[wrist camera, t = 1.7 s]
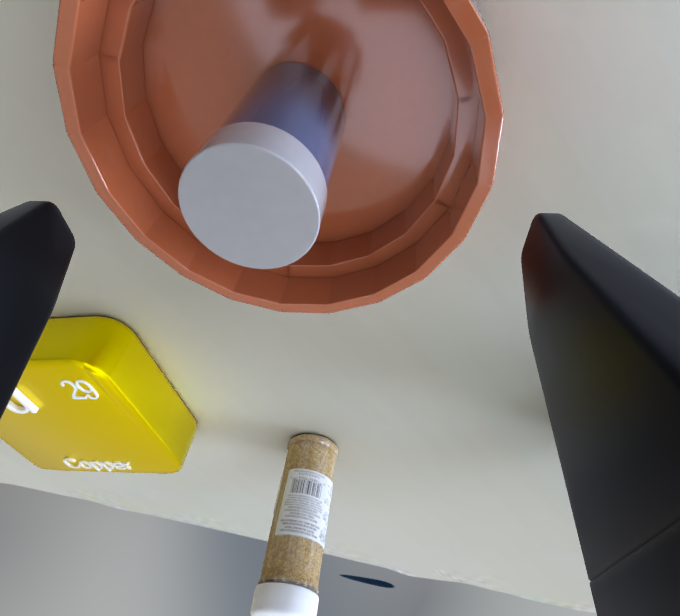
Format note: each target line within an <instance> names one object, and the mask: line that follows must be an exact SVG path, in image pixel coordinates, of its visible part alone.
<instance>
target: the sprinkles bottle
mask: <svg viewBox="0 0 680 616" xmlns="http://www.w3.org/2000/svg"><path fill="white" fill-rule="evenodd" d="M337 455H338V448H337V447H336V445H335V444H334V443H333V442H332V441H330V440H329V439H327V438H325V437H322V436H319V435H312V434H302V435H298V436H295V437H293V438H292V439H291V440H290V441H289V443H288V453H287V457H286V462H285V467H284V471H283V476H282V477H281V481H280V485H279V490H278V494H277V499H276V503H275V508H274V517H273V521H272V526H271V530H270V534H269V540H268V544H267V549H266V554H265V559H264V563H263V568H262V574H261V578H260V579H259V581H258V582H259V583H258V584H259V585H257V586H256V588H255V592H254V597H253V601H252V607H251V616H317V609H318V602H319V598H318V596H317V594H318V593H319V592H318V591H319V590H318V582H319V575H320V567H321V561H322V554H323V551H324V545H325V538H326V531H327V524H328V516H329V509H330V502H331V495H332V488H333V484H332V481H333V475H334V467H335V461H336V457H337Z"/></svg>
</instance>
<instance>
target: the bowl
mask: <svg viewBox="0 0 680 616" xmlns="http://www.w3.org/2000/svg"><path fill="white" fill-rule="evenodd" d="M287 62H295V63H301V64H305V65H308V66H311V67H313V68H315V69H317V70H318V71H320V72H321V73H323V74H324V75H325V76H326V77H327V78H328V79H329V80H330V81H331V82H332V83H333V84H334V86H335V87H336V88H337V90H338V92H339V94H340V96H341V98H342V101H343V104H344V108H345V114H346V123H345V129H344V133H343V137H342V140H341V144H340V147H339V151H338V154H337V158H336V162H335V165H334V169H333V172H332V176H331V179H330V183H329V186H328V190H327V202H326V207H325V211H324V215H323V218H322V222H321V225H320V229H319V233H318V236H317V238H316V240H315V242H314V244H313V246H312V247H311V248H310V250H309V251H308V252H307V253H306V254H305V255H304V256H302V257H301V258H300V259H298V260H297V261H295V262H293V263H291V264H288V265H286V266H282V267H279V268H272V269H255V268H249V267H244V266H241V265H237V264H235V263H232V262H229V261H227V260H225V259H223V258H221V257H220V256H218V255H216V254H215V253H213V252H212V251H211V250H209V249H208V248H207V247H206V246H204V245H203V244H202V243H201V242H200V241H199V240H198V239H197V238H196V236H195V235H194V234H193V233H192V231H191V230H190V228H189V227H188V225H187V223H186V222H185V219H184V217H183V215H182V212H181V209H180V206H179V199H178V185H179V180H180V176H181V173H182V171H183V169H184V167H185V166H186V164H187V163H188V162H189V160H190V159H191V158H192V157H193V155H194V154H195V153H196V151H197V150H198V149H199V148H200V146H201V145H202V144H203V143H204V141H205V140H206V139H207V138H208V137H209V136H210V135H211V134H212V133H214V132H215V131H217V130H218V129H219V127H220V126H221V125H222V123H223V122H224V121H225V119H226V118H227V117H228V116H229V114H230V113H231V112H232V110H233V109H234V108H235V106H236V105H237V104H238V103H239V101H240V100H241V99H242V97H243V96H244V95H245V93H246V92H247V91H248V90H249V88H250V87H251V86H252V84H253V83H254V82H255V80H256V79H257V78H258V77H259V76H260V75H261V74H262V73H263V72H264V71H265V70H267V69H268V68H270V67H272V66H274V65H277V64H281V63H287ZM53 68H54V73H55V78H56V83H57V88H58V93H59V98H60V102H61V107H62V112H63V117H64V122H65V127H66V132H67V133H68V137H69V139H70V141H71V142H72V144H73V146H74V148H75V150H76V152H77V154H78V156H79V158H80V160H81V162H82V164H83V166H84V168H85V170H86V172H87V174H88V176H89V178H90V180H91V182H92V184H93V186H94V188H95V190H96V192H97V194H98V195H99V196H100V197H101V199H102V200H103V201H104V202H105V203H106V205H107V206H108V207H109V208H110V209H111V211H112V212H113V213H114V214H115V215H116V217H117V218H118V219H119V220H120V221H121V222H122V224H123V225H124V226H125V227H126V228H127V230H128V231H129V232H130V233H131V234H132V236H133V237H134V238H135V239H136V240H137V241H138V242H139V243H141V244H142V245H143V246H145V247H146V248H147V249H148V250H150V251H151V252H152V253H154V254H155V255H156V256H157V257H159V258H160V259H161V260H163V261H164V262H165V263H166V264H168V265H169V266H170V267H172V268H173V269H174V270H175V271H177V272H178V273H179V274H181V275H183V276H184V277H186V278H188V279H190V280H192V281H194V282H196V283H198V284H200V285H202V286H204V287H206V288H208V289H210V290H213V291H215V292H217V293H219V294H221V295H223V296H225V297H227V298H229V299H230V298H231V299H232V300H235V301H239V302H243V303H247V304H251V305H255V306H259V307H263V308H267V309H271V310H275V311H281V312H305V313H333V312H337V311H342V310H346V309H351V308H355V307H360V306H364V305H369V304H373V303H378V302H381V301H383V300H385V299H387V298H388V297H390V296H392V295H394V294H396V293H398V292H400V291H402V290H404V289H406V288H408V287H409V286H411V285H413V284H415V283H417V282H419V281H421V280H423V279H424V278H426V277H427V276H428V275H429V274H430V273H431V272H432V271H433V270H434V269H435V268H436V267H437V266H438V265H439V264H440V263H441V262H442V261H443V260H444V259H445V258H446V257H447V256H448V255H449V254H450V253H451V252H452V251H453V250H454V249H455V248H457V247H458V246H459V245H460V244H461V243H462V242H463V241H464V239H465V238H466V236H467V234H468V232H469V230H470V228H471V226H472V224H473V222H474V220H475V218H476V217H477V215H478V213H479V211H480V209H481V207H482V205H483V203H484V201H485V199H486V197H487V195H488V194H489V192H490V190H491V188H492V185H493V182H494V176H495V169H496V163H497V156H498V150H499V143H500V137H501V131H502V124H503V118H504V117H503V107H502V102H501V96H500V91H499V85H498V80H497V74H496V69H495V63H494V58H493V52H492V47H491V41H490V36H489V34H488V30H487V28H486V26H485V23H484V21H483V18H482V16H481V14H480V12H479V9H478V7H477V5H476V2H475V1H474V0H60V3H59V12H58V20H57V29H56V38H55V46H54V55H53Z"/></svg>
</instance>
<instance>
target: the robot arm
mask: <svg viewBox="0 0 680 616" xmlns="http://www.w3.org/2000/svg"><path fill="white" fill-rule="evenodd" d="M74 248H75V240H74V236H73V234H72V232H71V230H70V229H69V227H68V225H67V223H66V221H65V220H64V218H63V216H62V214H61V212H60V211H59V209H58V208H57V206H56V205H55V204H53V203H51V202H48V201H29V202H26V203H23V204H21V205H19V206H16V207H14V208H12V209H9V210H7V211H5V212H2V213H0V419H1V417H2V415H3V413H4V411H5V409H6V407H7V405H8V403H9V401H10V399H11V397H12V395H13V392H14V390H15V388H16V386H17V384H18V382H19V380H20V378H21V376H22V374H23V372H24V370H25V368H26V366H27V364H28V361H29V359H30V357H31V355H32V353H33V351H34V349H35V347H36V345H37V343H38V341H39V339H40V337H41V335H42V332H43V330H44V328H45V326H46V324H47V322H48V320H49V318H50V315H51V313H52V311H53V308H54V306H55V303H56V300H57V298H58V295H59V292H60V289H61V286H62V283H63V280H64V277H65V275H66V272H67V269H68V266H69V263H70V260H71V257H72V254H73V251H74ZM521 263H522V273H523V282H524V292H525V301H526V311H527V320H528V328H529V334H530V339H531V344H532V348H533V352H534V356H535V360H536V364H537V368H538V372H539V376H540V381H541V385H542V389H543V393H544V397H545V401H546V405H547V409H548V413H549V418H550V422H551V426H552V430H553V434H554V438H555V442H556V446H557V450H558V455H559V459H560V463H561V467H562V471H563V475H564V479H565V483H566V487H567V492H568V496H569V500H570V504H571V508H572V512H573V516H574V520H575V524H576V529H577V533H578V537H579V541H580V545H581V549H582V553H583V557H584V561H585V565H586V570H587V574H588V578H589V580H590V581H591V582H590V587H591V591H592V596H593V600H594V604H595V608H596V612H597V616H680V297H679V296H677V295H676V294H674V293H673V292H671V291H670V290H669V289H667V288H666V287H664V286H663V285H662V284H660V283H659V282H657V281H656V280H654V279H653V278H652V277H650V276H649V275H647V274H646V273H644V272H643V271H642V270H640V269H639V268H637V267H636V266H634V265H633V264H632V263H630V262H629V261H627V260H626V259H625V258H623V257H622V256H620V255H619V254H617V253H616V252H615V251H613V250H612V249H610V248H609V247H607V246H606V245H605V244H603V243H602V242H600V241H599V240H597V239H596V238H595V237H593V236H592V235H590V234H589V233H588V232H586V231H585V230H583V229H582V228H580V227H579V226H578V225H576V224H575V223H573V222H572V221H570V220H569V219H568V218H566V217H565V216H563V215H562V214H554V213H539V214H537V215H536V216H535V217H534V219H533V221H532V223H531V226H530V229H529V232H528V235H527V238H526V241H525V244H524V247H523V251H522V257H521Z"/></svg>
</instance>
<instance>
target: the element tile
mask: <svg viewBox="0 0 680 616" xmlns="http://www.w3.org/2000/svg"><path fill="white" fill-rule="evenodd" d="M196 430H197V423H196V421H195V419H194V417H193V416H192V414H191V413H190V412H189V410H188V409H187V407H186V406H185V404H184V403H183V402H182V400H181V399H180V397H179V396H178V394H177V393H176V392H175V390H174V389H173V387H172V386H171V384H170V383H169V382H168V380H167V379H166V377H165V376H164V374H163V373H162V372H161V370H160V369H159V367H158V366H157V364H156V363H155V362H154V360H153V359H152V357H151V356H150V354H149V353H148V352H147V350H146V349H145V347H144V346H143V344H142V343H141V342H140V340H139V339H138V337H137V336H136V334H135V333H134V332H133V331H132V330H131V329H129V328H128V327H127V326H126V325H124V324H123V323H121V322H119V321H117V320H115V319H111V318H107V317H100V316H90V317H71V318H53V319H49V320H48V322H47V324H46V326H45V328H44V330H43V332H42V335H41V337H40V339H39V341H38V343H37V345H36V347H35V349H34V351H33V353H32V355H31V357H30V359H29V361H28V364H27V366H26V368H25V370H24V372H23V374H22V376H21V378H20V380H19V382H18V384H17V386H16V388H15V390H14V392H13V395H12V397H11V399H10V401H9V403H8V405H7V407H6V409H5V411H4V413H3V415H2V417H1V419H0V438H1V439H2V440H4V441H5V442H6V443H7V444H9V445H10V446H11V447H12V448H14V449H15V450H16V451H17V452H19V453H20V454H21V455H22V456H24V457H25V458H26V459H28V460H29V461H30V462H31V463H33V464H34V465H36V466H38V467H40V468H43V469H50V470H65V471H97V472H128V473H160V474H168V473H175V472H178V471H179V470H180V469H181V468H182V466H183V463H184V460H185V458H186V455H187V453H188V450H189V448H190V445H191V443H192V440H193V438H194V435H195V433H196Z"/></svg>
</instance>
